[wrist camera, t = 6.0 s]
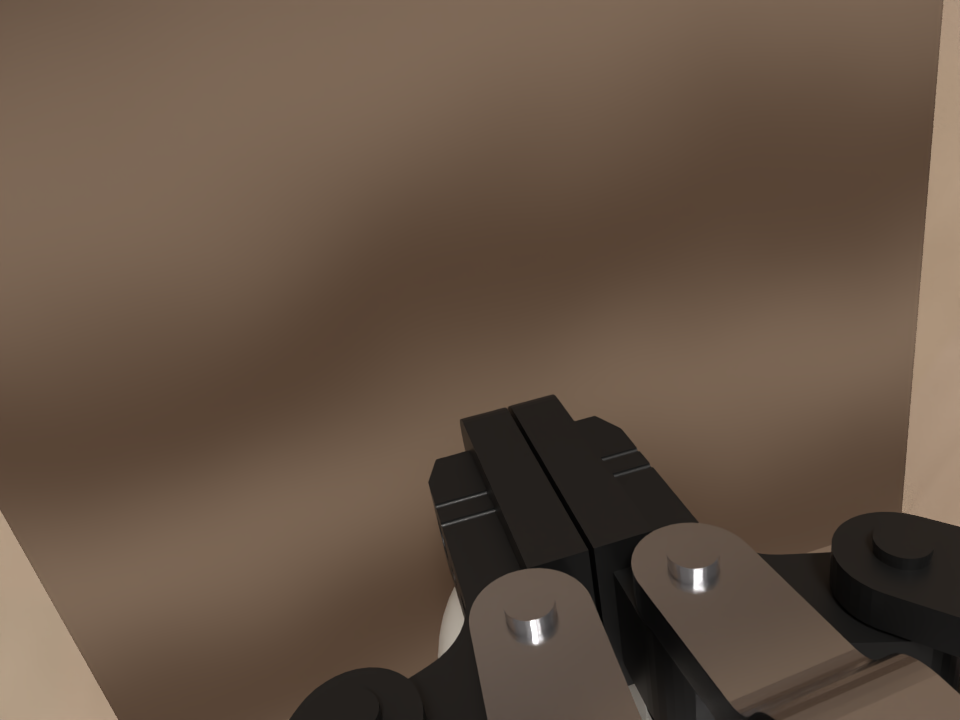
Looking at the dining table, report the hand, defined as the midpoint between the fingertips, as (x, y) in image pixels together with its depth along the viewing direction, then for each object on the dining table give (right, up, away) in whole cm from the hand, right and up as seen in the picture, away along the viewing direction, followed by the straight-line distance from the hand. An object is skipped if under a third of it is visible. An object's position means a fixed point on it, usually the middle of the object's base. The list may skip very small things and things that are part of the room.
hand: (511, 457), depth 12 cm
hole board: (-1, 0, +6) cm, 6 cm away
